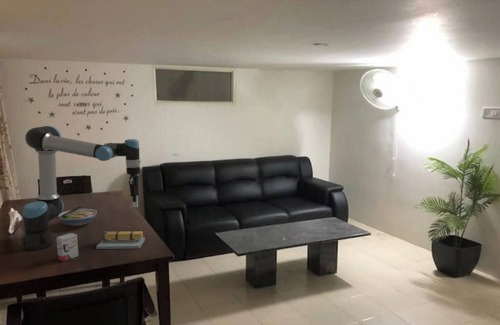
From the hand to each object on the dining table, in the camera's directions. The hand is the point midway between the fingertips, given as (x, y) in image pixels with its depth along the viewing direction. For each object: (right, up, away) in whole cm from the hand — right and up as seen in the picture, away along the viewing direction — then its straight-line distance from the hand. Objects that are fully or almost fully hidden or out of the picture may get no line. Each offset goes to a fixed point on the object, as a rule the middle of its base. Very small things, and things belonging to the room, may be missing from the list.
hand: (135, 206), depth 222 cm
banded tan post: (-5, -18, -6) cm, 19 cm away
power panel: (-5, -20, -8) cm, 22 cm away
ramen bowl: (-44, -15, +25) cm, 53 cm away
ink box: (-26, -23, -27) cm, 44 cm away
